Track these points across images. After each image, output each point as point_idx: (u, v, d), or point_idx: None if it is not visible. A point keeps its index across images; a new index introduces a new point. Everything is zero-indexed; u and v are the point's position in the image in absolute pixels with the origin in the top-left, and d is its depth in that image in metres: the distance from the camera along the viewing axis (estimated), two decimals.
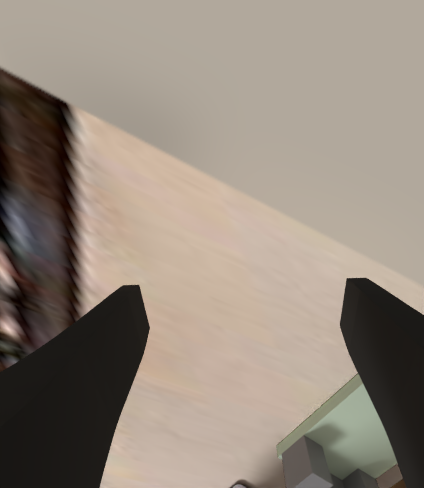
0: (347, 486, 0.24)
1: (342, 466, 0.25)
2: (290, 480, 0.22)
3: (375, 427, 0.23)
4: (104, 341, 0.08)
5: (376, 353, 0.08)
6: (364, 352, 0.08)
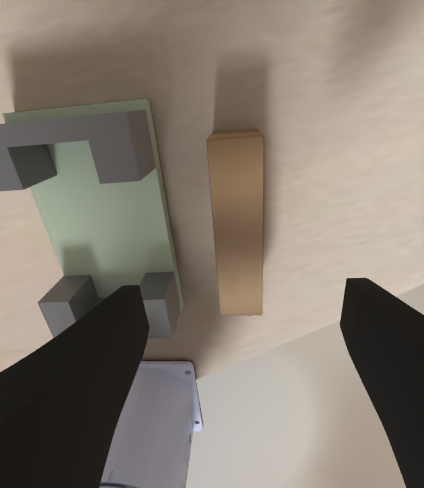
0: None
1: (132, 281, 0.20)
2: None
3: (99, 215, 0.18)
4: (104, 341, 0.08)
5: (376, 353, 0.08)
6: (364, 352, 0.08)
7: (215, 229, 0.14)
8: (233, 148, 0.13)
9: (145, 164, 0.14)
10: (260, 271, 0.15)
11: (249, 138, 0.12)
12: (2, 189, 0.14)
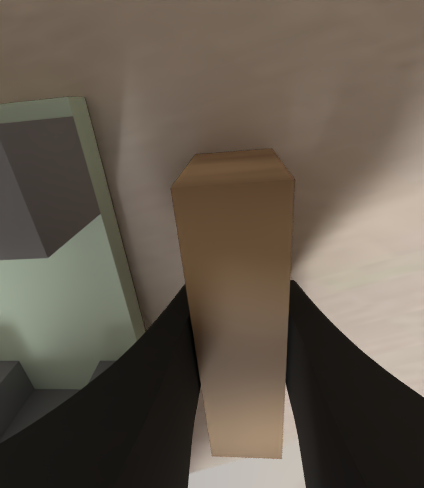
0: None
1: (81, 371, 0.13)
2: None
3: (18, 283, 0.11)
4: (186, 340, 0.07)
5: (289, 353, 0.08)
6: None
7: (197, 341, 0.08)
8: (229, 202, 0.06)
9: (68, 218, 0.08)
10: (280, 403, 0.09)
11: (264, 182, 0.06)
12: None
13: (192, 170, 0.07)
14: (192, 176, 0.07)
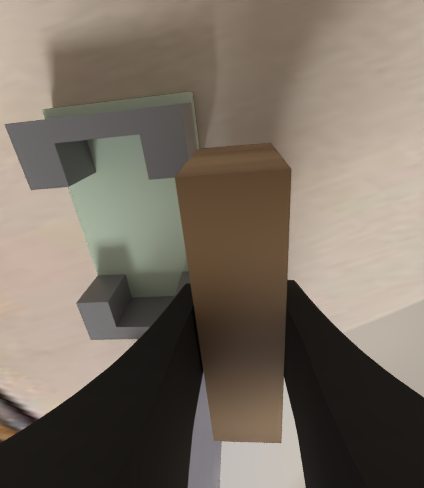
0: None
1: (167, 281, 0.19)
2: None
3: (137, 213, 0.17)
4: (187, 340, 0.07)
5: (289, 353, 0.08)
6: None
7: (200, 326, 0.08)
8: (229, 191, 0.06)
9: None
10: (279, 387, 0.09)
11: (262, 172, 0.06)
12: (47, 187, 0.14)
13: (194, 162, 0.07)
14: (194, 167, 0.07)
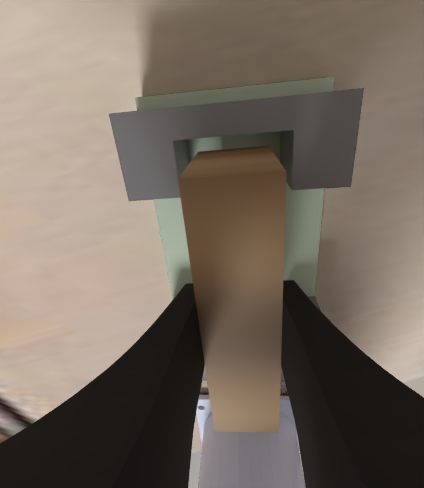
0: None
1: None
2: None
3: None
4: (187, 340, 0.07)
5: (289, 353, 0.08)
6: (284, 352, 0.08)
7: (201, 320, 0.09)
8: (229, 192, 0.07)
9: None
10: (277, 378, 0.09)
11: (259, 174, 0.06)
12: (151, 197, 0.11)
13: (196, 165, 0.08)
14: (196, 170, 0.07)
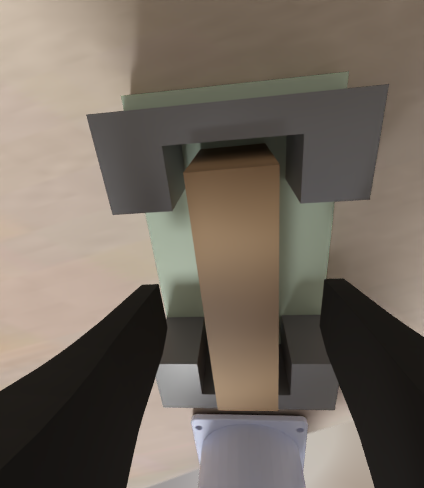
0: (282, 349, 0.15)
1: None
2: None
3: None
4: (129, 341, 0.08)
5: (348, 353, 0.08)
6: (339, 352, 0.08)
7: (205, 303, 0.09)
8: (229, 184, 0.07)
9: None
10: (275, 358, 0.10)
11: (255, 167, 0.07)
12: (138, 211, 0.09)
13: (199, 160, 0.09)
14: (199, 165, 0.08)
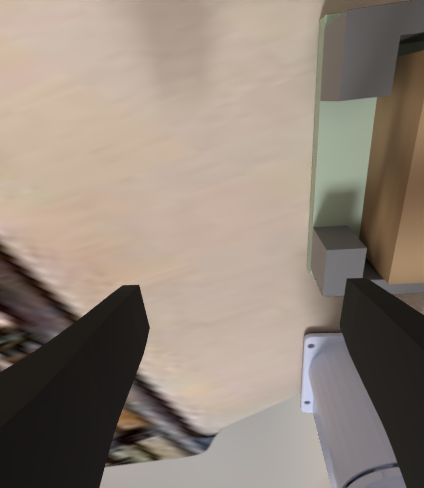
0: None
1: None
2: (320, 281, 0.16)
3: None
4: (104, 341, 0.08)
5: (376, 353, 0.08)
6: (364, 352, 0.08)
7: (412, 171, 0.12)
8: None
9: None
10: None
11: None
12: (362, 96, 0.12)
13: (417, 52, 0.11)
14: None
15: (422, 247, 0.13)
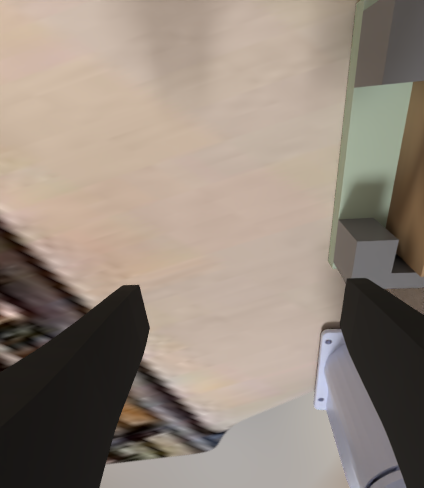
0: None
1: None
2: (347, 274, 0.16)
3: None
4: (104, 341, 0.08)
5: (376, 353, 0.08)
6: (364, 352, 0.08)
7: None
8: None
9: None
10: None
11: None
12: (406, 80, 0.11)
13: None
14: None
15: None
